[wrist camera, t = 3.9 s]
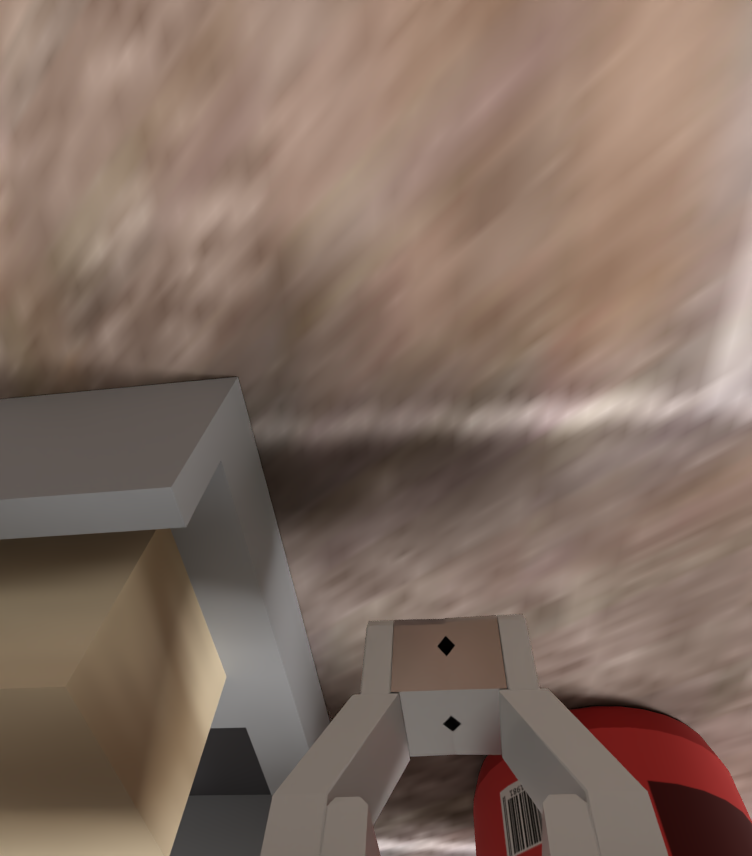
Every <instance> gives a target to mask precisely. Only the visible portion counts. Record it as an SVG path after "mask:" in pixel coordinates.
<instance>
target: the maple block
mask: <svg viewBox="0 0 752 856" xmlns="http://www.w3.org/2000/svg"><path fill="white" fill-rule="evenodd" d="M225 680H226V674H225V671H224V669H223V666H222V663H221V661H220V658H219V655H218V653H217V650H216V648H215V645H214V642H213V640H212V637H211V634H210V632H209V629H208V626H207V624H206V621H205V619H204V616H203V613H202V611H201V608H200V605H199V603H198V600H197V598H196V595H195V592H194V590H193V587H192V584H191V582H190V579H189V576H188V574H187V571H186V569H185V566H184V563H183V561H182V558H181V555H180V553H179V550H178V547H177V545H176V542H175V540H174V537H173V534H172V532H171V529H170V528H169V529H154V530H138V531H123V532H108V533H92V534H77V535H62V536H46V537H31V538H16V539H0V856H170V853H171V850H172V846H173V843H174V840H175V837H176V834H177V831H178V828H179V824H180V821H181V818H182V815H183V812H184V809H185V806H186V803H187V799H188V796H189V793H190V790H191V787H192V784H193V781H194V777H195V774H196V771H197V768H198V765H199V762H200V759H201V756H202V752H203V749H204V746H205V743H206V740H207V737H208V734H209V730H210V727H211V724H212V721H213V718H214V715H215V712H216V709H217V705H218V702H219V699H220V696H221V693H222V690H223V687H224V683H225Z"/></svg>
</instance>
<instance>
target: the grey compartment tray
mask: <svg viewBox="0 0 752 856" xmlns="http://www.w3.org/2000/svg"><path fill="white" fill-rule="evenodd" d="M169 528H170V529H171V532H172V534H173V537H174V540H175V542H176V545H177V547H178V550H179V553H180V555H181V558H182V561H183V563H184V566H185V569H186V571H187V574H188V576H189V579H190V582H191V584H192V587H193V590H194V592H195V595H196V598H197V600H198V603H199V605H200V608H201V611H202V613H203V616H204V619H205V621H206V624H207V626H208V629H209V632H210V634H211V637H212V640H213V642H214V645H215V648H216V650H217V653H218V655H219V658H220V661H221V663H222V666H223V669H224V671H225V674H226V680H225V683H224V687H223V690H222V693H221V696H220V699H219V702H218V705H217V709H216V712H215V715H214V718H213V721H212V724H211V727H210V730H209V734H208V737H207V740H206V743H205V746H204V749H203V752H202V756H201V759H200V762H199V765H198V768H197V771H196V774H195V777H194V781H193V784H192V787H191V790H190V793H189V796H188V799H187V803H186V806H185V809H184V812H183V815H182V818H181V821H180V824H179V828H178V831H177V834H176V837H175V840H174V843H173V846H172V850H171V853H170V856H260V854H261V850H262V845H263V840H264V835H265V830H266V825H267V821H268V816H269V811H270V806H271V801H272V796H273V794H274V793H275V792H276V790H277V789H278V788H279V787H280V785H281V784H282V783H283V782H284V780H285V779H286V778H287V777H288V775H289V774H290V773H291V772H292V770H293V769H294V768H295V767H296V765H297V764H298V763H299V761H300V760H301V759H302V758H303V756H304V755H305V754H306V753H307V751H308V750H309V749H310V748H311V746H312V745H313V744H314V743H315V741H316V740H317V739H318V738H319V736H320V735H321V734H322V733H323V731H324V730H325V729H326V728H327V726H328V725H329V724H330V720H329V717H328V713H327V709H326V705H325V702H324V698H323V694H322V690H321V687H320V683H319V679H318V675H317V672H316V668H315V664H314V660H313V657H312V653H311V649H310V645H309V642H308V638H307V634H306V630H305V627H304V623H303V619H302V615H301V612H300V608H299V604H298V600H297V597H296V593H295V589H294V585H293V582H292V578H291V574H290V570H289V567H288V563H287V559H286V555H285V552H284V548H283V544H282V540H281V537H280V533H279V529H278V525H277V522H276V518H275V514H274V510H273V507H272V503H271V499H270V495H269V492H268V488H267V484H266V480H265V477H264V473H263V469H262V465H261V462H260V458H259V454H258V450H257V447H256V443H255V439H254V435H253V432H252V428H251V424H250V420H249V416H248V413H247V409H246V405H245V401H244V398H243V394H242V390H241V386H240V383H239V379H238V377H231V378H220V379H210V380H199V381H188V382H178V383H167V384H157V385H146V386H136V387H125V388H114V389H104V390H93V391H83V392H72V393H61V394H51V395H40V396H30V397H19V398H9V399H0V539H16V538H31V537H46V536H62V535H77V534H92V533H108V532H123V531H138V530H154V529H169Z"/></svg>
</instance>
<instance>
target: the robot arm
mask: <svg viewBox="0 0 752 856" xmlns="http://www.w3.org/2000/svg"><path fill="white" fill-rule="evenodd" d="M454 754H458V755H502V758H503V759H504V761H505V762H506V763H507V765H508V766H509V768H510V769H511V771H512V772H513V773H514V775H515V776H516V778H517V779H518V781H519V782H520V784H521V785H522V786H523V788H524V789H525V791H526V792H527V794H528V795H529V797H530V798H531V799H532V801H533V802H534V804H535V805H536V807H537V808H538V809H539V811H540V812H541V814H542V815H543V817H542V856H668V853H667V850H666V847H665V843H664V840H663V837H662V834H661V831H660V828H659V825H658V822H657V819H656V816H655V812H654V809H653V806H652V803H651V800H650V797H649V794H648V791H647V790H646V789H645V788H644V787H643V786H642V785H641V784H640V783H639V782H638V781H637V780H636V779H635V778H634V777H633V776H632V775H631V774H630V773H629V772H628V771H627V770H626V769H625V768H624V767H623V766H622V764H621V763H620V762H619V761H618V760H617V759H616V758H615V757H614V756H613V755H612V754H611V753H610V752H609V751H608V750H607V749H606V748H605V747H604V746H603V745H602V744H601V743H600V742H599V741H598V740H597V739H596V738H595V737H594V736H593V734H592V733H591V732H590V731H589V730H588V729H587V728H586V727H585V726H584V725H583V724H582V723H581V722H580V721H579V720H578V719H577V718H576V717H575V716H574V715H573V714H572V713H571V712H570V711H569V710H568V709H567V708H566V707H565V706H564V704H563V703H562V702H561V701H560V700H559V699H558V698H557V697H556V696H555V695H554V694H553V693H552V692H551V691H550V690H549V689H540V687H539V682H538V677H537V672H536V667H535V662H534V657H533V652H532V647H531V642H530V637H529V632H528V627H527V623H526V618H525V617H524V615H523V614H515V615H497V617H496V615H490V616H473V617H456V618H445V619H413V620H383V621H369V622H368V625H367V628H366V638H365V649H364V659H363V670H362V681H361V691H360V694H356V695H352V696H351V697H350V699H349V700H348V701H347V702H346V704H345V705H344V706H343V707H342V709H341V710H340V711H339V712H338V714H337V715H336V716H335V718H334V719H333V720H332V721H331V723H330V724H329V725H328V726H327V728H326V729H325V730H324V731H323V733H322V734H321V735H320V736H319V738H318V739H317V740H316V741H315V743H314V744H313V745H312V746H311V748H310V749H309V750H308V751H307V753H306V754H305V755H304V756H303V758H302V759H301V760H300V761H299V763H298V764H297V765H296V767H295V768H294V769H293V770H292V772H291V773H290V774H289V775H288V777H287V778H286V779H285V780H284V782H283V783H282V784H281V785H280V787H279V788H278V789H277V790H276V792H275V793H274V794H273V796H272V801H271V806H270V811H269V816H268V821H267V825H266V830H265V835H264V840H263V845H262V850H261V854H260V856H380V852H379V848H378V844H377V839H376V835H375V831H374V827H373V826H374V824H375V822H376V820H377V818H378V817H379V815H380V813H381V811H382V809H383V808H384V806H385V804H386V802H387V800H388V799H389V797H390V795H391V793H392V791H393V790H394V788H395V786H396V784H397V782H398V781H399V779H400V777H401V775H402V773H403V772H404V770H405V768H406V766H407V764H408V763H409V761H410V757H413V756H434V755H454Z"/></svg>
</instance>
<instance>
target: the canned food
mask: <svg viewBox="0 0 752 856" xmlns="http://www.w3.org/2000/svg"><path fill="white" fill-rule="evenodd" d="M569 711H570V712H571V713H572V714H573V715H574V716H575V717H576V718H577V719H578V720H579V721H580V722H581V723H582V724H583V725H584V726H585V727H586V728H587V729H588V730H589V731H590V732H591V733H592V734H593V736H594V737H595V738H596V739H597V740H598V741H599V742H600V743H601V744H602V745H603V746H604V747H605V748H606V749H607V750H608V751H609V752H610V753H611V754H612V755H613V756H614V757H615V758H616V759H617V760H618V761H619V762H620V763H621V764H622V766H623V767H624V768H625V769H626V770H627V771H628V772H629V773H630V774H631V775H632V776H633V777H634V778H635V779H636V780H637V781H638V782H639V783H640V784H641V785H642V786H643V787H644V788H645V789H646V790H647V791H648V794H649V797H650V800H651V803H652V806H653V809H654V812H655V816H656V819H657V822H658V825H659V828H660V831H661V834H662V837H663V840H664V843H665V847H666V850H667V853H668V856H752V821H751V819H750V816H749V814H748V812H747V810H746V808H745V805H744V803H743V801H742V799H741V797H740V795H739V792H738V790H737V788H736V786H735V784H734V781H733V779H732V777H731V775H730V773H729V771H728V769H727V768H726V767H725V766H724V764H723V763H722V762H721V761H720V759H719V758H718V757H717V756H716V754H715V753H714V752H713V751H712V749H711V748H710V747H709V746H708V745H707V743H706V742H705V741H704V740H703V738H702V737H701V736H700V735H699V734H698V733H696V732H695V731H694V730H692V729H691V728H690V727H688V726H687V725H686V724H684V723H682V722H679V721H677V720H675V719H673V718H671V717H669V716H666V715H663V714H659V713H655V712H651V711H648V710H644V709H638V708H629V707H621V706H593V707H586V708H578V709H571V710H569ZM473 815H474V828H475V842H476V856H542V817H543V815H542V814H541V812H540V811H539V809H538V808H537V807H536V805H535V804H534V802H533V801H532V799H531V798H530V797H529V795H528V794H527V792H526V791H525V789H524V788H523V786H522V785H521V784H520V782H519V781H518V779H517V778H516V776H515V775H514V773H513V772H512V771H511V769H510V768H509V766H508V765H507V763H506V762H505V761H504V759H503V758H502V755H488V756H487V757H486V758H485V760H484V762H483V764H482V767H481V770H480V772H479V776H478V781H477V785H476V790H475V795H474V807H473Z"/></svg>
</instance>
